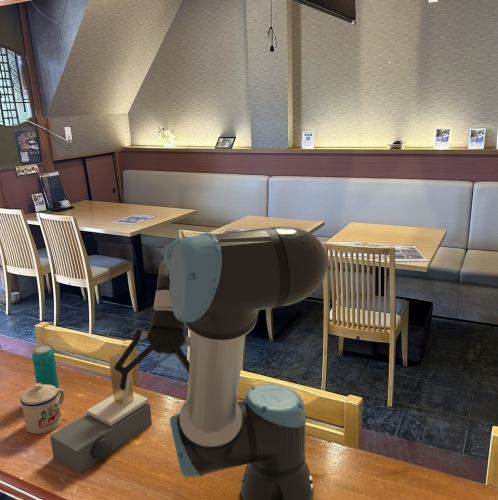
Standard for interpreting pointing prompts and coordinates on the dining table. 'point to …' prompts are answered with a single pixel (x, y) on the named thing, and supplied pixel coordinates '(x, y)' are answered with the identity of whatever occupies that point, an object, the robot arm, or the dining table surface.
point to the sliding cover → (117, 398)
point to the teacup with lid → (42, 408)
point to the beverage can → (45, 365)
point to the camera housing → (96, 438)
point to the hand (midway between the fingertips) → (156, 409)
